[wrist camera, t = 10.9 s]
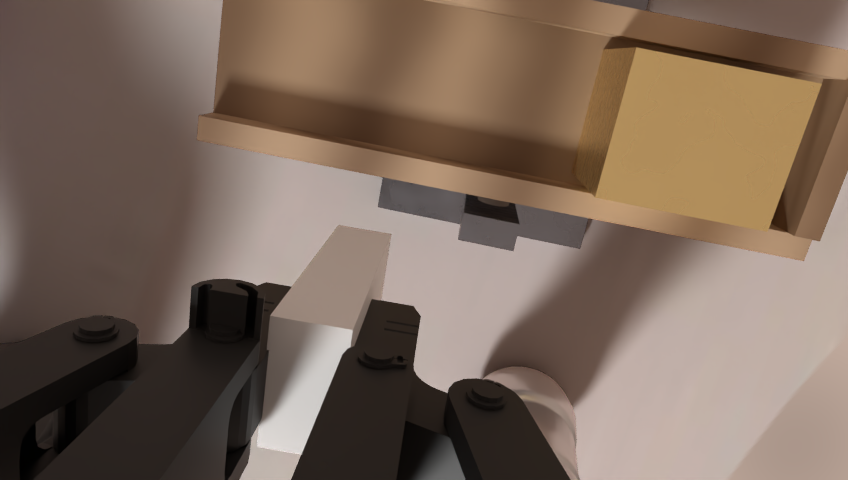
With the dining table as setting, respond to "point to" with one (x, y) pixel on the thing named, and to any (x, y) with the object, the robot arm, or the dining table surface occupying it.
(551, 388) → the plastic bottle
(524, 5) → the beam
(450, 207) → the pivot stand
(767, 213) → the block
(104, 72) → the dining table surface
